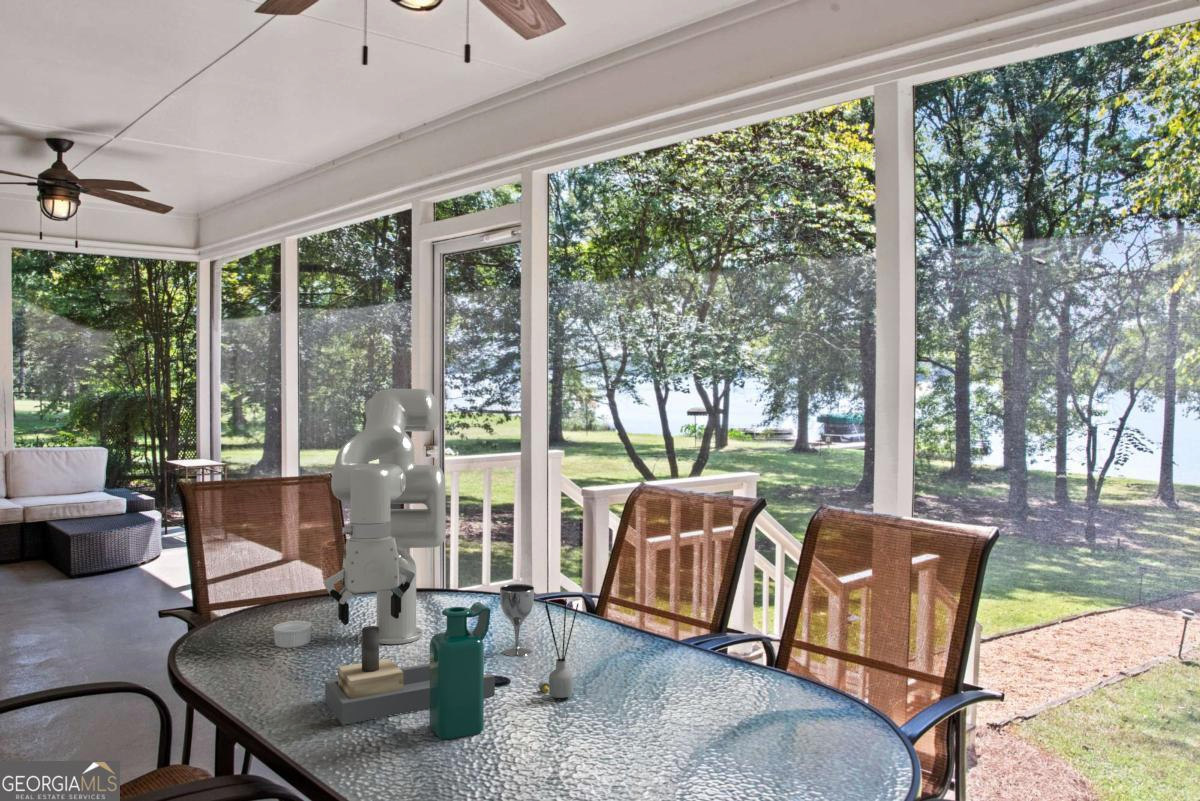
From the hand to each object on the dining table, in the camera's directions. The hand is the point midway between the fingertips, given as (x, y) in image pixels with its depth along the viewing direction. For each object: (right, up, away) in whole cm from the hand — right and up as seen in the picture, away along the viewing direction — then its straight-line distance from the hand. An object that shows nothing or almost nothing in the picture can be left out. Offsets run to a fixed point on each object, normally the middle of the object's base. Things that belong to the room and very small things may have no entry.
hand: (370, 620), depth 164 cm
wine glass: (+25, -17, +35) cm, 46 cm away
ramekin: (-30, -17, +41) cm, 54 cm away
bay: (+7, -17, +5) cm, 19 cm away
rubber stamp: (0, -16, +1) cm, 16 cm away
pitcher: (+19, -17, -10) cm, 28 cm away
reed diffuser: (+35, -17, +5) cm, 40 cm away
